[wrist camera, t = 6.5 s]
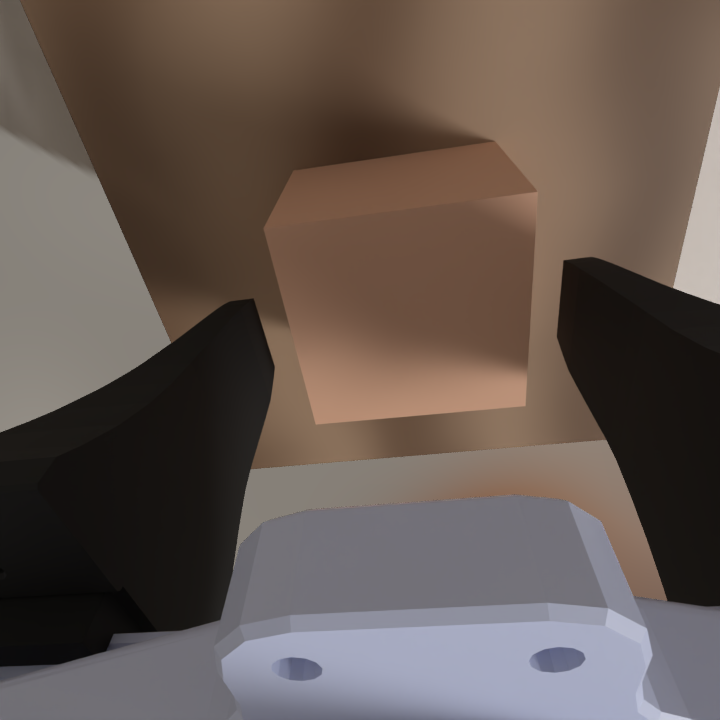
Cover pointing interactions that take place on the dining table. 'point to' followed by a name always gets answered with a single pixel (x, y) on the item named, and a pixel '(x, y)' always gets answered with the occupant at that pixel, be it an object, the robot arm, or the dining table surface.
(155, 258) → the walnut base
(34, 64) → the dining table surface
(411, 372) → the terracotta block
